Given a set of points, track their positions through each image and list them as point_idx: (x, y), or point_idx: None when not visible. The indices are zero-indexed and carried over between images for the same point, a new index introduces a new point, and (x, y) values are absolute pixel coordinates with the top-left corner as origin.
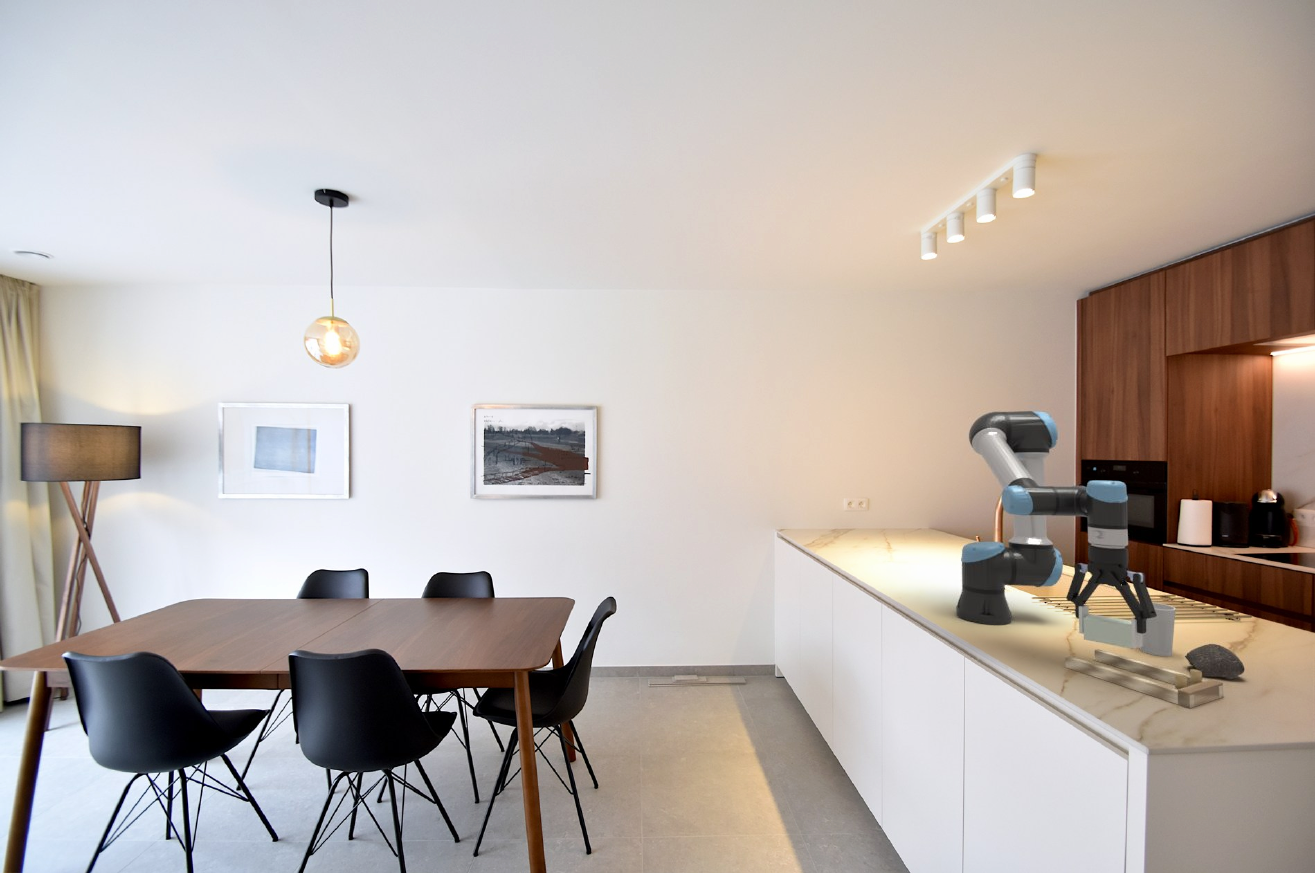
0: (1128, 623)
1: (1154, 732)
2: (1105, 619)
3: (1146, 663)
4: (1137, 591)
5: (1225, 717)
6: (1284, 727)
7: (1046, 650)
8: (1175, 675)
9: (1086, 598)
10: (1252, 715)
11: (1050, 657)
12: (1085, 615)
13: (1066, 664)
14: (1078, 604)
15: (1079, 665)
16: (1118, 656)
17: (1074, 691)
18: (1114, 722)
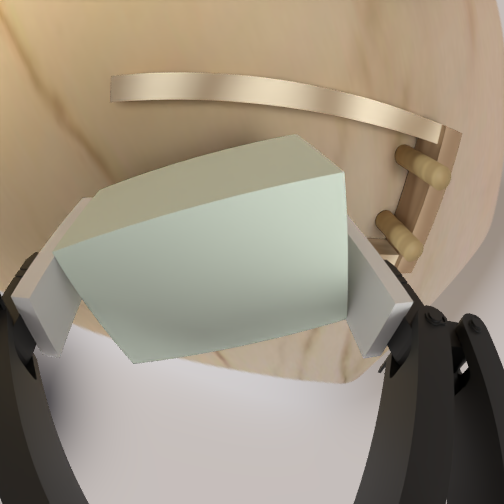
0: (321, 272)
1: (355, 363)
2: (190, 299)
3: (294, 87)
4: (455, 497)
5: (434, 243)
6: (483, 209)
7: (19, 162)
8: (403, 256)
9: (28, 382)
10: (464, 194)
11: (61, 209)
12: (66, 283)
13: None
14: (34, 359)
15: None
16: (197, 91)
17: (235, 347)
18: (316, 376)
